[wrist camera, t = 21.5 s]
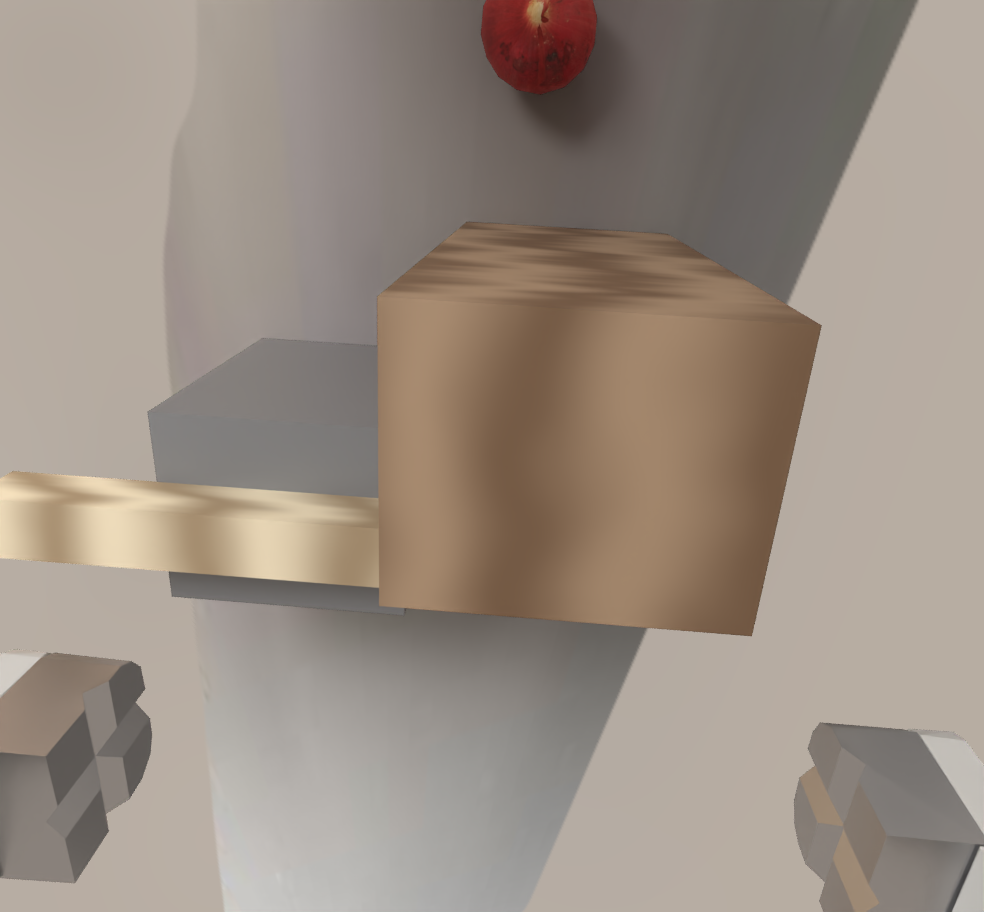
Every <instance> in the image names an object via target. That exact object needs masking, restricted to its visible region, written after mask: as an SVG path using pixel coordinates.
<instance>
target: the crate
mask: <svg viewBox="0 0 984 912" xmlns="http://www.w3.org/2000/svg"><path fill="white" fill-rule="evenodd" d="M148 419H149V427H150V434H151V441H152V449H153V456H154V464H155V472H156V479H157V482H166V483H179V484H193V485H206V486H220V487H234V488H247V489H261V490H274V491H288V492H301V493H315V494H328V495H342V496H356V497H369V498H378V346H370V345H355V344H340V343H326V342H311V341H296V340H281V339H266V338H262V339H260V340H259V341H257V342H256V343H254V344H253V345H251V346H250V347H248V348H246V349H245V350H243V351H242V352H240V353H239V354H237V355H235V356H234V357H232V358H231V359H229V360H228V361H226V362H224V363H223V364H221V365H220V366H218V367H217V368H215V369H214V370H212V371H210V372H209V373H207V374H206V375H204V376H203V377H201V378H199V379H198V380H196V381H195V382H193V383H192V384H190V385H189V386H187V387H185V388H184V389H182V390H181V391H179V392H178V393H176V394H174V395H173V396H171V397H170V398H168V399H167V400H165V401H164V402H162V403H161V404H159V405H157V406H156V407H154V408H153V409H151V410H149V411H148ZM169 578H170V585H171V593H172V597H184V598H196V599H208V600H221V601H233V602H245V603H257V604H270V605H282V606H294V607H306V608H319V609H331V610H343V611H355V612H367V613H380V614H392V615H404V614H405V611H406V608H398V607H386V606H379V588H376V587H363V586H350V585H337V584H325V583H312V582H299V581H287V580H274V579H261V578H248V577H236V576H223V575H210V574H197V573H185V572H172V571H169Z"/></svg>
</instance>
